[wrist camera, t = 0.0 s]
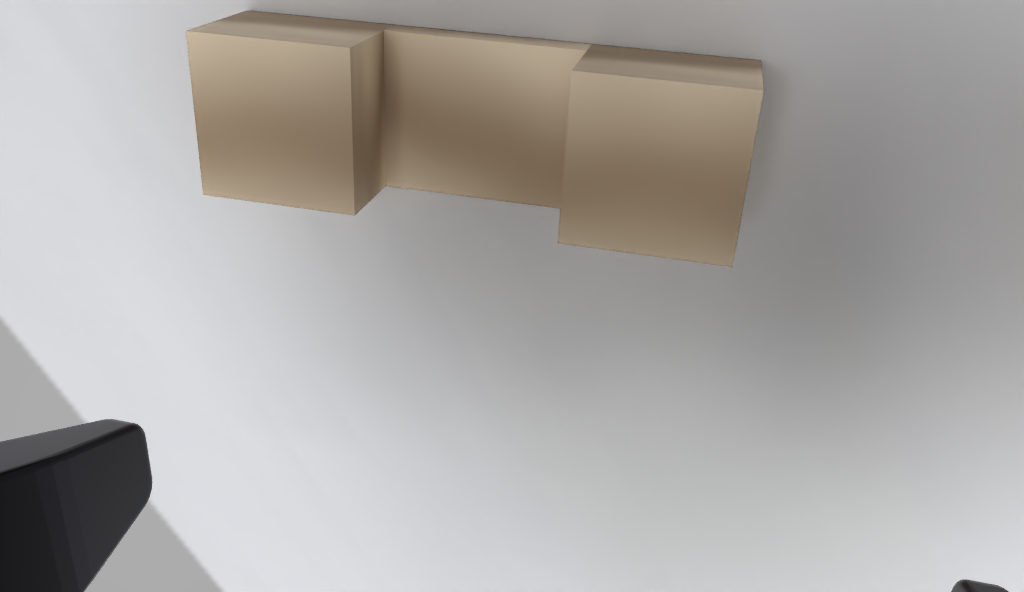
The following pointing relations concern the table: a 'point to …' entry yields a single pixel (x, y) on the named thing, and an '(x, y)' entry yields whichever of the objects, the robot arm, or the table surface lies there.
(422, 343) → the table surface
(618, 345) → the table surface
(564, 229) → the u rest
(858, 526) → the table surface
